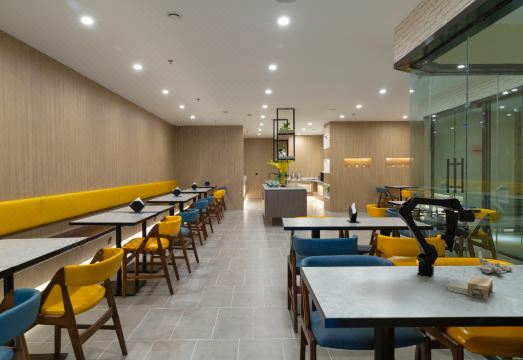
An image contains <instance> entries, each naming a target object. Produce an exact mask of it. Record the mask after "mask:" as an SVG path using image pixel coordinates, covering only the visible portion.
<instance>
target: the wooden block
mask: <svg viewBox="0 0 523 360" xmlns="http://www.w3.org/2000/svg"><path fill="white" fill-rule="evenodd" d="M493 282H494V279H493V278H492V277H491V278H490V277H485V276H479V275H473V276H472V277H471V278H470V279H469V281H468V282H467V283H468V290H467V294H466V295H467V297H474V298H478V299H479V298H480V299H482V300H486V301H488V299H489V293H490V292H491V293H493V291H494V289H493V288H494V287H493V286H494V285H493V284H494V283H493ZM472 287H473V288H479V289H483V292H482V295H480V294H475V293H472Z"/></svg>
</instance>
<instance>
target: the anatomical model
mask: <svg viewBox="0 0 523 360" xmlns="http://www.w3.org/2000/svg"><path fill="white" fill-rule="evenodd" d="M477 256H478V257H477V258H478V260H479V263H480V264H482V265H481V268H480V269H481V271H483V273H485V274H493V273H495V274H498V275H499V274H501V272H503V271H506V272H510V271H511V272H512V271H513V268H512V267H509V266H508V267H507V266H506V265H501V264H500V262H495V263H493V262H492V261H489V259H485V256H484V254H483V252H482V251H481V250H479V251H478V254H477Z"/></svg>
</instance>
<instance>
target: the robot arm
mask: <svg viewBox="0 0 523 360" xmlns="http://www.w3.org/2000/svg"><path fill="white" fill-rule="evenodd" d="M418 205H422V206H423V205H424V206H425V205H427V206H436V207H437V206H438V207H440V208H441V207H442V208H444V209H443V210H441V211H440V212H441V214H444V215H445V216H444V217H445V220H444V221H445V222H444V224H443V225H444V232H443V233H442V234H441V235H440V238H439V239H440V240H441V241H444V242H445V244H446V247H447V248H448V251H449V252H450V253H453V251H454V248H455V246H456V245H455V244H456V242H458V241H459V240H460V238H462V237H463V238H465V239H469V238H470V237H471V235H472V234H471V233H472V231H471V229H470V228H469V227H467V226H466V227H465V228H463V227H460V226H461V225H460V224H459V222H460V223H474V222H475V221H476V215H475V213H474V210H473V209H471V208H470V209H469V208H467V209H465V208H464V207H463V206H462V205H461V202H460V200H459V198H456V197H443V198H431V197H420V196H415V195H414V196H411V197H410V198H408V199H407V200H406V201H404V202H403V203H402V204H399V205H397V206H396V207H395V209H394V212H395V214H396V215H397V216H398V218H399V219H401V220H402V221H403V223H404V224H405V225H406V226H407V229H408V231H410V233H411V235H412V236H413V238H414V240H415V241H416V242H417V244H418V247H419V251H420V253H419V254H418V255H417V256H416V259H417V261H418V264H417V265H418V266H417V273H416V274H417V275H418V276H419V275H420V276H424V277H430V278H432V277H433V276H434V275H435V266H434V265H435V263H436V261H437V259H438V258H439V251H438V250H437V248H436V246H435V245H434V244H432V243H430V242H428V241H427V239H426V238H425V236H424V234H423V233H422V232H421V230H420V227H418V225H417V223H416V221H415V220H414V217H413V213H412V212H413V210H415V209H416V207H418ZM458 237H459V238H458Z"/></svg>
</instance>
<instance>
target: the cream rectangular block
mask: <svg viewBox="0 0 523 360" xmlns="http://www.w3.org/2000/svg"><path fill="white" fill-rule="evenodd" d="M467 290H468V282H464V281H459V280H451V282H449V283H448V284H447V291H450V292H455V293H459V294H464V295H467ZM482 292H483V289H479V288H473V287H472V293H475V294H480V295H482Z"/></svg>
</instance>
